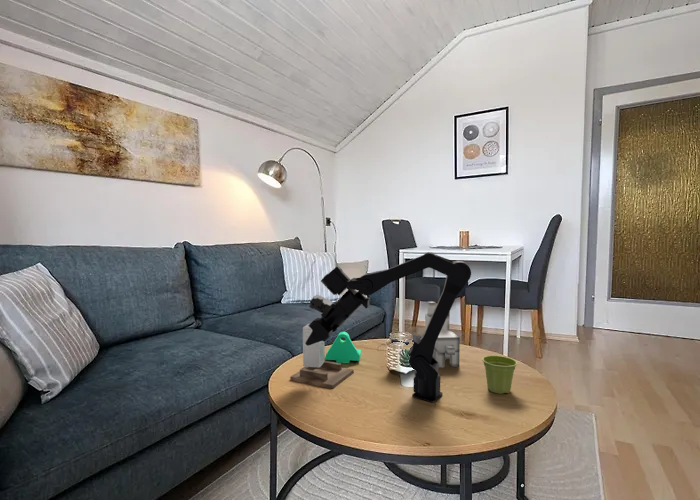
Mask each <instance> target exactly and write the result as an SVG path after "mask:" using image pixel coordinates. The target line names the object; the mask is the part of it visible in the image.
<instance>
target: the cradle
mask: <svg viewBox="0 0 700 500" xmlns="http://www.w3.org/2000/svg"><path fill="white" fill-rule="evenodd" d="M354 370H355V369H351V368H347V367H342V363H336V361H335V362H334V361H330V360H325V362H324V363H323V364H322V365H321V367H320V368H318V367H305V366H303V367H302V368H300V369H299V371H298V372H296V373H294V374H292V375H291V376H290V377H289V379H290V381H293V382H294V381H295V382H298V383H299V382H300V383H304V384H309V385H313V386H317V387H322V388H328V389H332V390H333V389H335V388H336V387H337V386H338V385H340V384H341V383H342V382H343V381H345V380H346V379H348V378H349V377H350V376H351V375H352V374H354V372H355V371H354Z"/></svg>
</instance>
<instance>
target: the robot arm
mask: <svg viewBox="0 0 700 500" xmlns="http://www.w3.org/2000/svg"><path fill="white" fill-rule="evenodd" d="M428 268H430V269H433V270H434V271H436V272H438V273H441V274H443V275H445V276H446V277H445V282H444V285H443V286H444V287H443V290H442V292H441V294H440V297H439V299H438V301H437V302H436V308H435V310H434V312H433V315H432V317H431V319H430V321H429V323H428V326H427V328H426V330H424V332H423V334H422V335H421V336H422V337H421V338H420V339H419V338H418V337H415V341H414V344H413V346H412V347H411V348H410V351H409V356H410V360H409V363H410V365H411V367H412V368H413V369H414V370H413V371H415V373H414V377H413V390H412V391H413V393H412V397H413V398H416V399H420V400H423V401H426V402H430V403H434V402H436V401H438V399H439V398H441V396H443V392H441V374H440V373H439V369H440V367H439V363H438V362H437V361H436V360H435V359H434V358H433V352H434V348H435V343H436V340H437V338H438V336H439V334H440V332H441V329H442V327H443V325H444V323H445V320H446V318H447V316H448V314H449V312H450V311H451V310H452V307H453V305H454V303H455V300H456V298H457V297H458V295H459V294H460V293H461V292H462V291H463V289H464V287H466V285H467V283H468V282H469V281H470V279H471V277H472V270H471V268H470V266H469V265H468V264H467V262H465V261H462V260H455V261H453V260H451V259H448V258H445V257H443V256H441V255H438V254H435V253H434V252H432V251H428V252H425V253H423V254H422V255H420V256H417V257H415V258H412V259H409V260H407V261H405V262H403V263H399V264H397V265H395V266H392V267H390V268H388V269H382V270H376V271H371V272H368V273H365V274H363V275H361V276H359V277H353V278H350V277H349V276H348V275H347V274H346V273H345V272H344V271H343V269H342V267H340V266H339V265H337V266H335V267H334V269H332V270H331V271H329V273H327V274H326V275H324V277H322V279H321V281H320V282H321V283H322V285H324V286H325V288H326V289H327V290H329V292H330V293H331V294H332V295H333V296H337V295H338V296H340V298H338V299H337V300H335V302H333V301H331V300H330V299H328V298H325V297H324V296H321V295H319V294H315V295H314V296H312V299H311V300H310V302H309V308H311V309H313V310H315V311H318V312H320V313H321V314H320V316H321V317H317V318H314V320H312V321H311V322H310V323H308V324H309V327H310V328H311V329H312V330H313V331H312V333H311V334H310V336H309V338H308V339H307V341H306V343H305V344H306V345H307V346H309V345H311V344H314V343H317V342H320V341H324V343H325V342H326V341H327V340H328V339H329V338H330V337H331V336H332V335H333V333H334V332H336V331H337V330H338V329H340V328H341V327H342V326H343V325H344V324H345V323H346V320H347V319H349V318H350V317H351V316H352V315H353V313H355V312H356V310H358V309H359V308H360V307H361V306H363V307H364V309H368V308H369V307H370V305H371V304H370V299H371V298H370V297H369V296H371V295H372V294H375V293H376V292H378V291H379V290H381V289H383V288H384V287H386V286H387V285H389V284H390V283H393V282H396V281H398V280H400V279H402V278H405V277H408V276H411V275H413V274H415V273H418V272H421V271H423V270H427V269H428ZM346 290H347V291H346ZM344 292H345V293H344ZM366 296H368V297H366ZM450 313H451V312H450Z"/></svg>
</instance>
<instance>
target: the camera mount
mask: <svg viewBox="0 0 700 500" xmlns="http://www.w3.org/2000/svg"><path fill="white" fill-rule="evenodd" d="M342 338H344V339H345V340H343V339H342ZM325 353H326V354H325V361H335V363H340V364H349V363H350V361H354V362H355V361H357V362H358V361H359V362H360V360H361V356H362V350H361V349H358V348H356V346H355V345H354V343H353V341H352V340H351V337H350V335H349V333H348V332H346V331H340V332H339V333H338V334H337V337H336V338H335V340H334V341H333V343H332V345H330V347H329V348H328V350H327V351H326V352H325Z"/></svg>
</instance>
